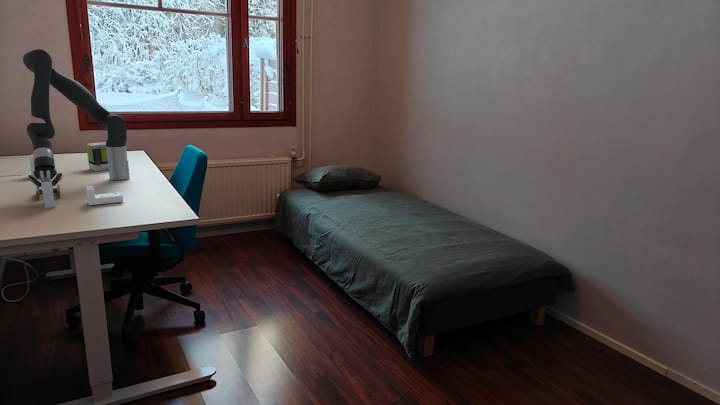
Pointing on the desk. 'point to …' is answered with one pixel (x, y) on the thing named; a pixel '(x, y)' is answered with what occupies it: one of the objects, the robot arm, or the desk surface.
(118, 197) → the bracket
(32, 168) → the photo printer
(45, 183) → the grey rectangular block
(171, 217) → the desk surface
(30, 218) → the desk surface
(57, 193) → the walnut box
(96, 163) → the tea box
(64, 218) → the desk surface
